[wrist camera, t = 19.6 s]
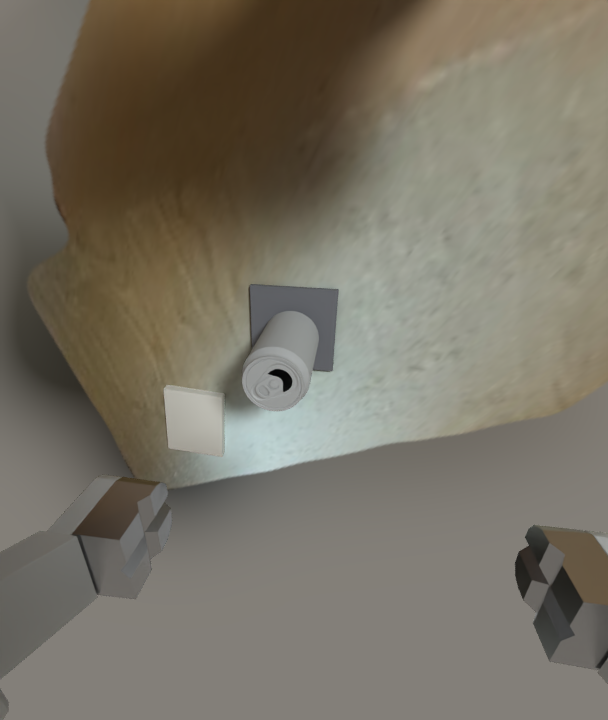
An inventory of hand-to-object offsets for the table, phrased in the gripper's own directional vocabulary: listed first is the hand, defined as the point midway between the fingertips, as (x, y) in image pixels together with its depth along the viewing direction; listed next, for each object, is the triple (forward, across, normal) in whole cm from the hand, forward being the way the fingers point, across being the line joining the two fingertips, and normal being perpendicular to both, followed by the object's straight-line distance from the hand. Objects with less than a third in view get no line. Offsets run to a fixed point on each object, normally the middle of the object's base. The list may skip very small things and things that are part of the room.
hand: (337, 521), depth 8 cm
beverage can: (+34, +6, +8) cm, 35 cm away
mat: (+34, +6, +8) cm, 35 cm away
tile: (+34, +19, +18) cm, 43 cm away
